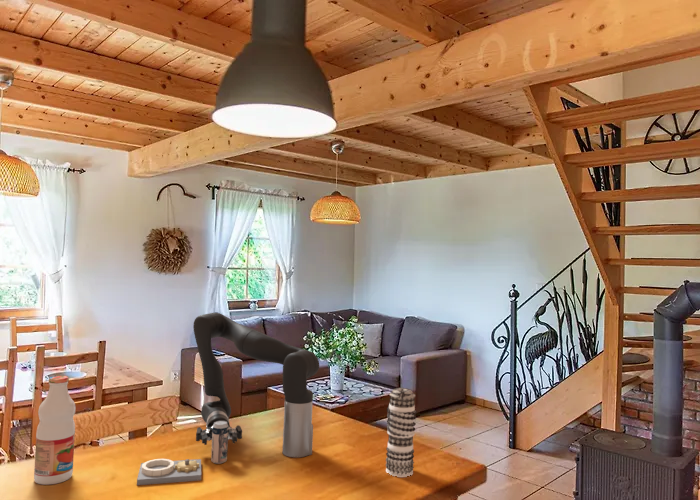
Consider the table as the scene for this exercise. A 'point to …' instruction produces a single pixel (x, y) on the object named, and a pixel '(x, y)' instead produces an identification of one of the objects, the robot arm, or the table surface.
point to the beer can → (219, 442)
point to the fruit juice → (55, 435)
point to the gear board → (171, 475)
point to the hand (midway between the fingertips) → (220, 440)
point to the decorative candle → (400, 432)
